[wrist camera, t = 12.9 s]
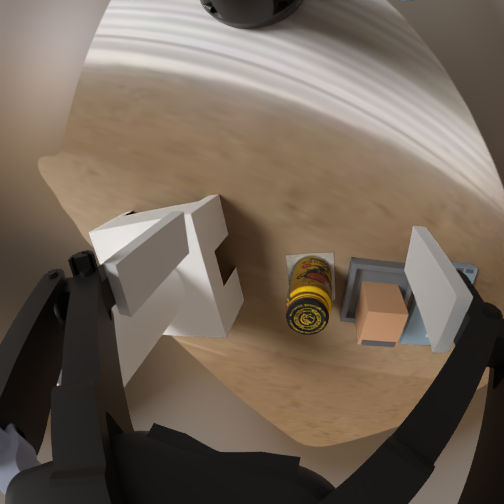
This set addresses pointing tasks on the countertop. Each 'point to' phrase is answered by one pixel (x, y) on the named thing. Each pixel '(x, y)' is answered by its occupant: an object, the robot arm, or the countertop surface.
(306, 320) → the condiment
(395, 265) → the tray
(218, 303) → the paper towel holder
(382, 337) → the stub
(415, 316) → the board
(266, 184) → the countertop surface
